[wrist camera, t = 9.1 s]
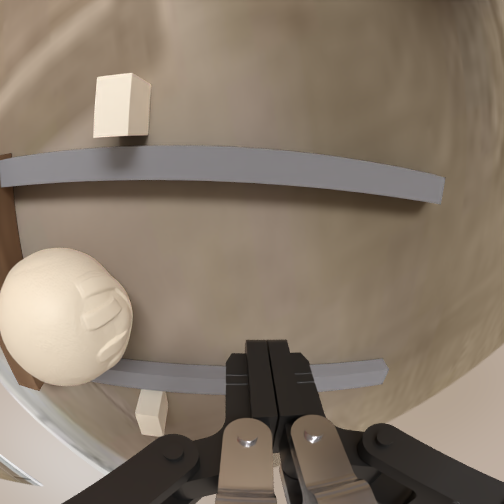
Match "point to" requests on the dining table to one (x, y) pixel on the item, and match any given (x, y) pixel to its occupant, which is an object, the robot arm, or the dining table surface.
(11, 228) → the backstop
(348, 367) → the rails
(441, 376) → the dining table surface
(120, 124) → the line posts
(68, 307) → the cream round ball
